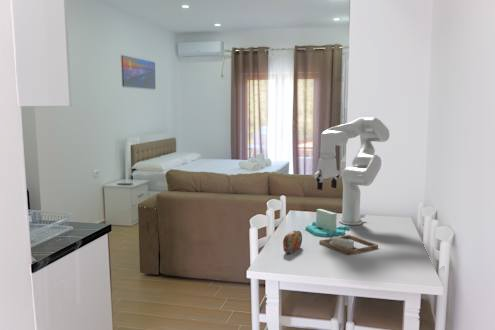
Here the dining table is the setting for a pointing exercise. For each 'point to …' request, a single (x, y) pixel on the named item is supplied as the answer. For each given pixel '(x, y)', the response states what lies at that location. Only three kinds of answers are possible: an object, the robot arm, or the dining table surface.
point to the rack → (355, 250)
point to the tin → (292, 241)
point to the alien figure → (323, 232)
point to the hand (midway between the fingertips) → (326, 188)
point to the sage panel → (326, 219)
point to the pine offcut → (342, 247)
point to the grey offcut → (342, 242)
